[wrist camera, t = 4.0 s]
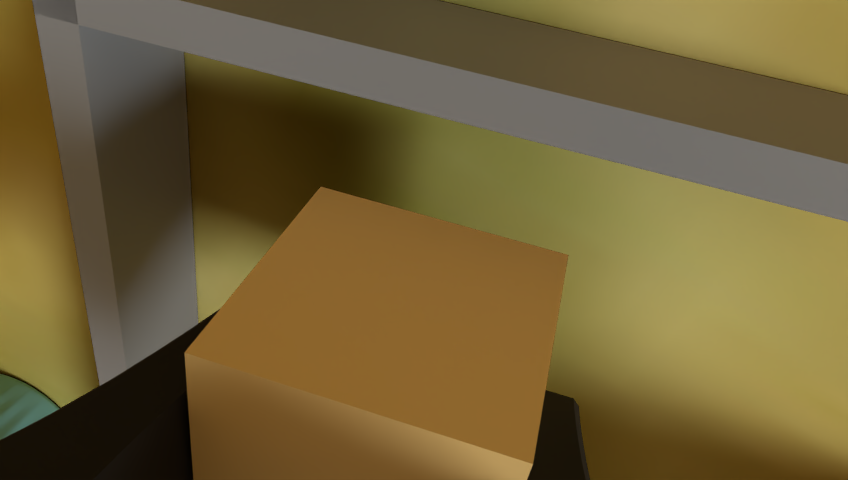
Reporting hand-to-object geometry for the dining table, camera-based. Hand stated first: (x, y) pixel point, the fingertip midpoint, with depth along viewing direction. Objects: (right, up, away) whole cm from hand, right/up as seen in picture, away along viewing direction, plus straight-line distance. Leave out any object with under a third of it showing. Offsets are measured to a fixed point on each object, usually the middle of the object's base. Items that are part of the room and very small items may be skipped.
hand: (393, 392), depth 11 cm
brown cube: (0, +1, +1) cm, 2 cm away
